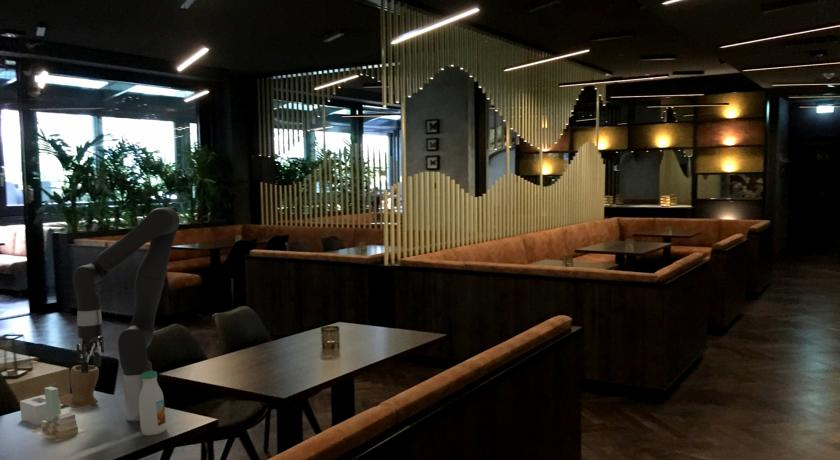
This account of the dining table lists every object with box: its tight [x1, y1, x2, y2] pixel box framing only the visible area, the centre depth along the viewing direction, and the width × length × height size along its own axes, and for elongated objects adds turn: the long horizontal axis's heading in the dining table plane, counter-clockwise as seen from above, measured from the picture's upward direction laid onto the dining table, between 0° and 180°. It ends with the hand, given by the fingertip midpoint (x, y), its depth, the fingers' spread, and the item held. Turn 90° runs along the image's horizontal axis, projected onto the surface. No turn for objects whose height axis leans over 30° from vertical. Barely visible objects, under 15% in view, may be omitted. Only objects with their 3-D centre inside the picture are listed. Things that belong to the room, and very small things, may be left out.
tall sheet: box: [44, 386, 61, 423], centre depth 221 cm, size 5×2×14 cm, turn 54°
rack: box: [30, 420, 87, 442], centre depth 220 cm, size 18×10×4 cm, turn 54°
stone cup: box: [59, 364, 100, 408], centre depth 252 cm, size 15×12×15 cm
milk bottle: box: [139, 370, 167, 436], centre depth 219 cm, size 8×8×20 cm
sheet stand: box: [19, 394, 62, 426], centre depth 233 cm, size 12×8×8 cm, turn 54°
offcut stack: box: [51, 411, 79, 438], centre depth 217 cm, size 6×6×6 cm
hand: (91, 369), depth 228 cm, fingers open, 8 cm apart
